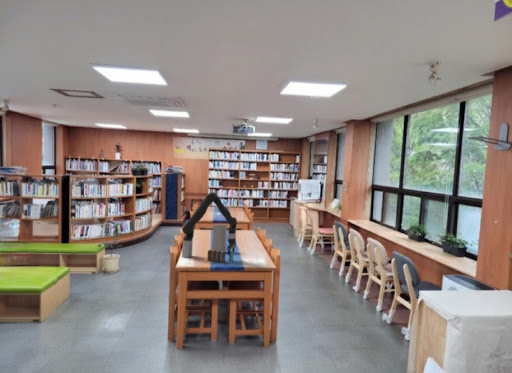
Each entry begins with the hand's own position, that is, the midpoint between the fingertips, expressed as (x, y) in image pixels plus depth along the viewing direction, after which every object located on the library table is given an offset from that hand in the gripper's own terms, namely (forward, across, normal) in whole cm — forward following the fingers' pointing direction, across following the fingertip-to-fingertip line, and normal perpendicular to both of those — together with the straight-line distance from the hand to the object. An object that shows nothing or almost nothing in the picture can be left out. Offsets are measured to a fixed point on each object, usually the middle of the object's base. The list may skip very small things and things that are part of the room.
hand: (231, 253), depth 307 cm
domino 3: (+8, +8, -10) cm, 15 cm away
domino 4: (+8, +8, -5) cm, 12 cm away
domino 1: (+8, +8, -20) cm, 23 cm away
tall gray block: (+8, -22, -26) cm, 35 cm away
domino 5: (+8, 0, 0) cm, 8 cm away
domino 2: (+8, +8, -15) cm, 19 cm away
